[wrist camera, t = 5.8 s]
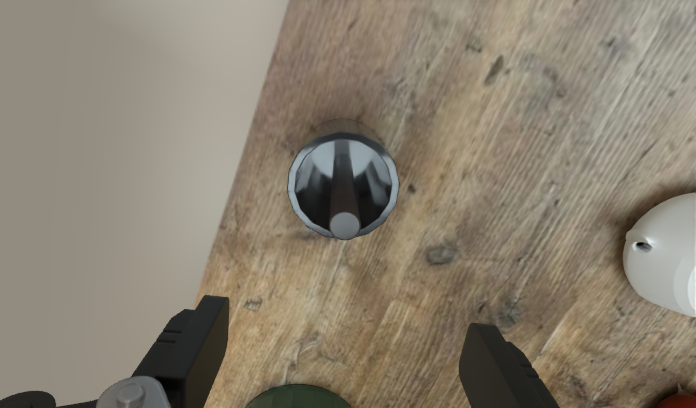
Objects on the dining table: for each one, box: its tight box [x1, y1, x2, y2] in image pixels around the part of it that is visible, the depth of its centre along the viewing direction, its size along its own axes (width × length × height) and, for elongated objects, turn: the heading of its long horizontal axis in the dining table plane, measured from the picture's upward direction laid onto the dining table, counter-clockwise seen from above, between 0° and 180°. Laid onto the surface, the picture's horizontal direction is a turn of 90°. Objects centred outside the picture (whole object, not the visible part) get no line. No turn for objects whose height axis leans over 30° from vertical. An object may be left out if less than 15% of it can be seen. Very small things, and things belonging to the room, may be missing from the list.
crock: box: [287, 119, 400, 238], centre depth 33 cm, size 8×8×9 cm
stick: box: [329, 155, 361, 240], centre depth 29 cm, size 2×2×16 cm
